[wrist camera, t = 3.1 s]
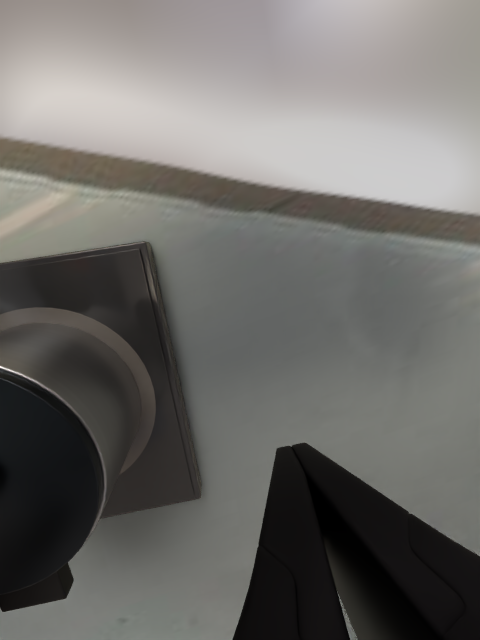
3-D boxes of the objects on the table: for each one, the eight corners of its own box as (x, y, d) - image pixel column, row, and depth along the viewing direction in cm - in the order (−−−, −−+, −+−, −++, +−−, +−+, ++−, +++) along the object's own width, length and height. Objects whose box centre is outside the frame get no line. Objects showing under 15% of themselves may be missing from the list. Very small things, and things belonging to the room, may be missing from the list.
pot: (3, 523, 15) (-132, 695, 9) (-86, 302, 13) (-349, 342, 7) (164, 491, 16) (134, 634, 10) (109, 271, 13) (24, 283, 7)
